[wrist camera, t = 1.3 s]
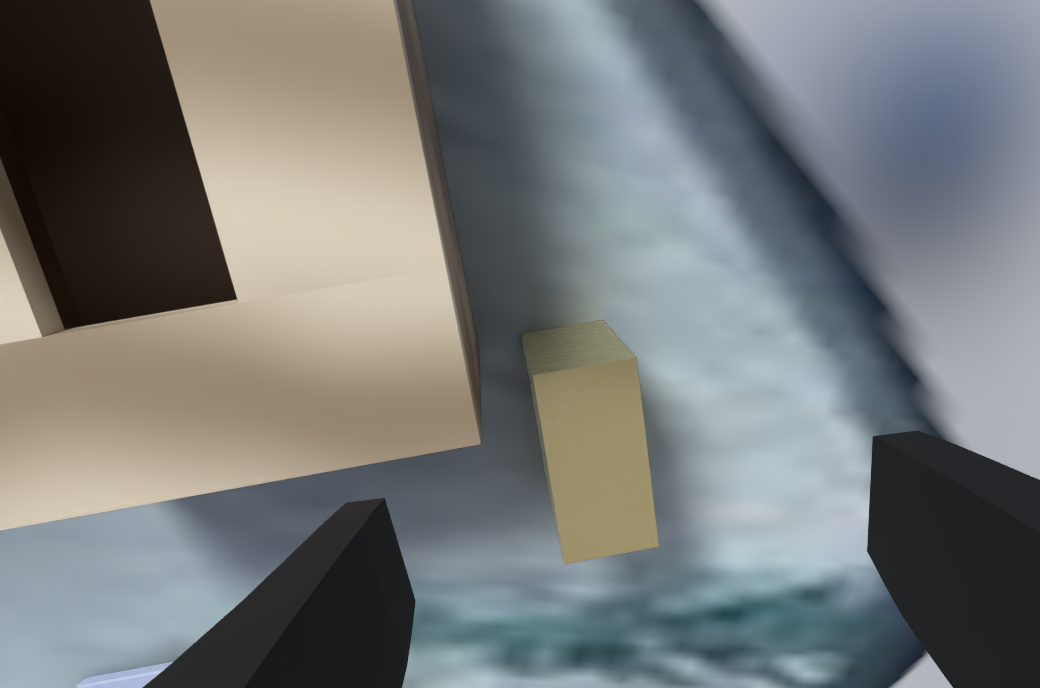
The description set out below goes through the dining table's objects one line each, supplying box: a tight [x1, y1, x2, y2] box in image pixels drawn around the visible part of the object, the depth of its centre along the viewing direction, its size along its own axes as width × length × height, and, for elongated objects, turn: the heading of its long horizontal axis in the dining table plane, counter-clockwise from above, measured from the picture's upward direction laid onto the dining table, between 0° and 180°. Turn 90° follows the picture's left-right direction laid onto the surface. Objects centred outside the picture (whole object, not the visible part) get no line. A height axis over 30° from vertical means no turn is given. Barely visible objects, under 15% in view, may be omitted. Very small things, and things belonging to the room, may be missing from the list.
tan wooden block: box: [521, 320, 659, 564], centre depth 16 cm, size 5×2×4 cm, turn 10°
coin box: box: [0, 0, 481, 530], centre depth 13 cm, size 14×11×6 cm
